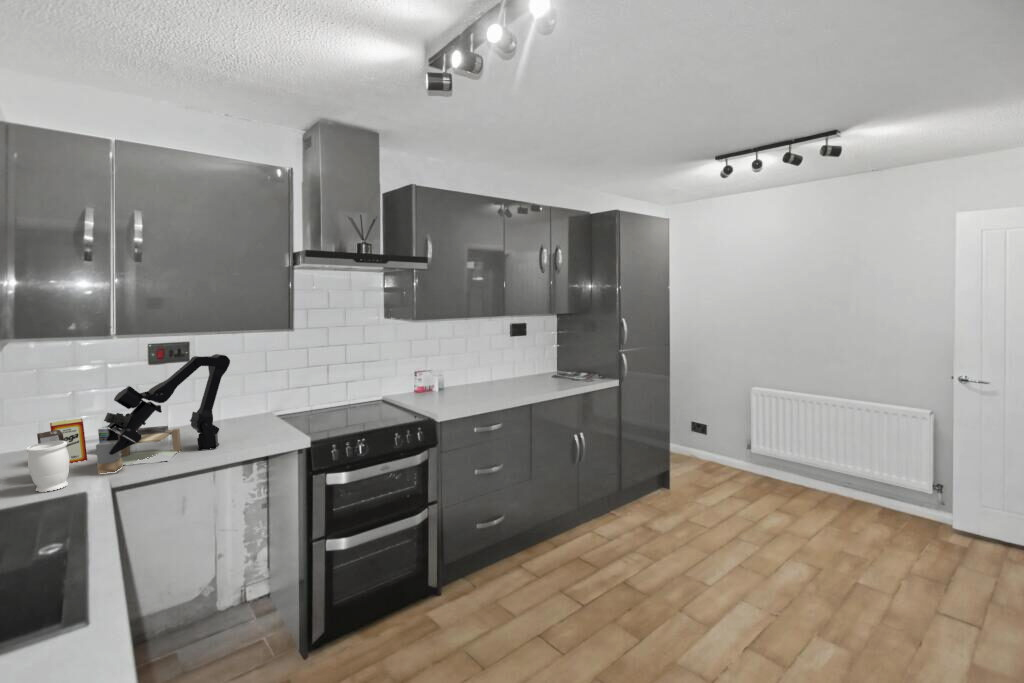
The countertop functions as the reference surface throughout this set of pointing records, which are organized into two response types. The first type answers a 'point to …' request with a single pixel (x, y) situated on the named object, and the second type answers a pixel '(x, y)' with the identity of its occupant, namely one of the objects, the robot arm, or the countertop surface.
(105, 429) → the light bulb box
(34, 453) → the jar
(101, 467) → the plinth
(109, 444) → the basalt block
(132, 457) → the stand
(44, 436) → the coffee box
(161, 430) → the trapdoor
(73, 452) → the baking soda box
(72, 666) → the countertop surface
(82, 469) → the countertop surface
